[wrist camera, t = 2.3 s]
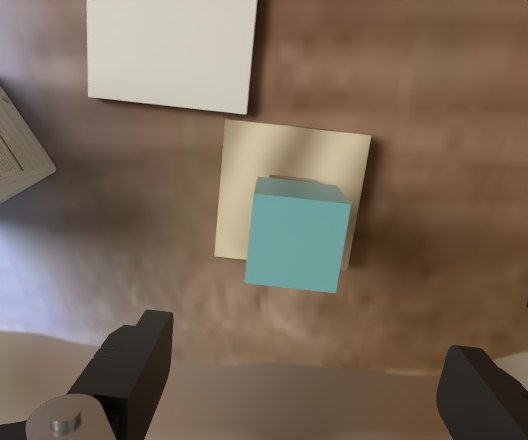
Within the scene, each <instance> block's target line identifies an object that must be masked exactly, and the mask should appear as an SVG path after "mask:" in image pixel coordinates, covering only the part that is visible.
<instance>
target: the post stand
mask: <svg viewBox="0 0 528 440" xmlns="http://www.w3.org/2000/svg"><path fill="white" fill-rule="evenodd" d="M370 141H371V135H368V134H360V133H351V132H342V131H333V130H324V129H316V128H307V127H298V126H289V125H280V124H271V123H262V122H253V121H244V120H235V119H225V128H224V141H223V154H222V167H221V179H220V192H219V205H218V218H217V231H216V243H215V256H217V257H226V258H235V259H244V260H247V253H248V243H249V234H250V224H251V214H252V204H253V195H254V190H255V186H256V182H257V178H258V177H266V178H275V179H284V180H293V181H302V182H311V183H320V184H329V185H337V186H338V188H339V189H340V190H341V192H342V193H343V194H344V196H345V197H346V198H347V200H348V201H349V202H350V203H351V208H350V214H349V220H348V225H347V231H346V237H345V243H344V248H343V254H342V260H341V266H340V270H344V271H347V269H348V264H349V258H350V252H351V247H352V241H353V236H354V230H355V224H356V219H357V213H358V208H359V202H360V196H361V191H362V185H363V180H364V174H365V169H366V163H367V157H368V152H369V146H370Z"/></svg>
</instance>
